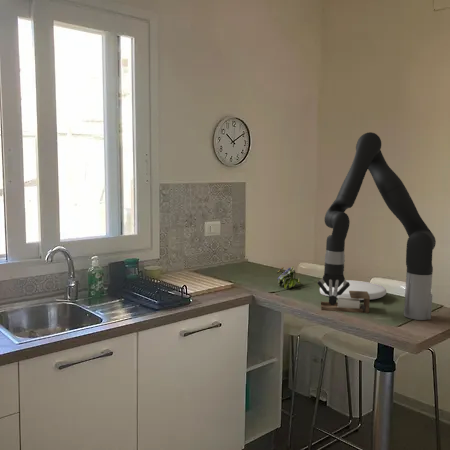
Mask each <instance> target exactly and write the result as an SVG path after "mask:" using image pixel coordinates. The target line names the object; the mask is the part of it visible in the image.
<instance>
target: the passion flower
mask: <svg viewBox="0 0 450 450" xmlns="http://www.w3.org/2000/svg"><path fill="white" fill-rule="evenodd" d="M278 269H279V270H277V272H276V274H279V273H281V274H280V275H279V276H278V277H277V281H278V283H277V286H279V287H281V286H282V285H283V284H284V285H283V286H284V287H283V288H284V289H285V290H287V289H291V288H294V287H296V288H297V287H298V286H297V284H300V285H301V284H302V283H301V281H300V279H301V277H298V278H296V270H295V268H294V266H291V267H288V269H285V270H284V271H283V269H284V267H283V266H282V267H281V268H278Z"/></svg>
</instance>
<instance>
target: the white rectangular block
mask: <svg viewBox="0 0 450 450" xmlns="http://www.w3.org/2000/svg"><path fill="white" fill-rule="evenodd" d="M337 302H338V307H340V308H357V309H360V304H361V300H359V298H351V297H338V298H337Z"/></svg>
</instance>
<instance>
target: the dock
mask: <svg viewBox="0 0 450 450" xmlns="http://www.w3.org/2000/svg"><path fill="white" fill-rule="evenodd" d="M349 293H350V296H351V298H360V299H364V300H363V303H362V304H361V303H360V309H357V308H340V307H338V301H336V304H334V305H330V304H329V301H320V310H321V311H330V312H341V313H342V312H343V313H344V312H345V313H346V312H347V313H360V314H361V313H363V314H369V313H370V296H369V294H368V292H366V291H349Z"/></svg>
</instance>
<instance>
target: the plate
mask: <svg viewBox="0 0 450 450" xmlns="http://www.w3.org/2000/svg"><path fill="white" fill-rule="evenodd" d="M345 280H346V281H347V282H349V284H350V286H349V287H348V288H347V289H346V290H345V291H344V292H343V293H342V294H341V295H338V296H337V298H336V299H338V297H351V296H350V293H349V291H366V292H368V294H369V296H370V300H376V299H380V298H383V297H384V296H386V294H387V288H386V287H385V286H383V285H380V284H377V283H373V282H368V281H361V280H352V279H351V280H350V279H345ZM343 283H344V282H343ZM343 283H342V284H341V285H340V286H339V287H338V290H337V292H338V291H339V290H340V289H341V288H342V287H343ZM323 285H324V287H325V288H326V289H327V291H329V287H328V286H327V285H326V283H325V282H324V284H323ZM333 292H334V287H332V295H333ZM319 293H320V295H322V296H326V297H329V295H327V294H325V293H324V292H323V290H322V289H321V287H320V286H319ZM359 300H360V301H364V299H360V298H359Z"/></svg>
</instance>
